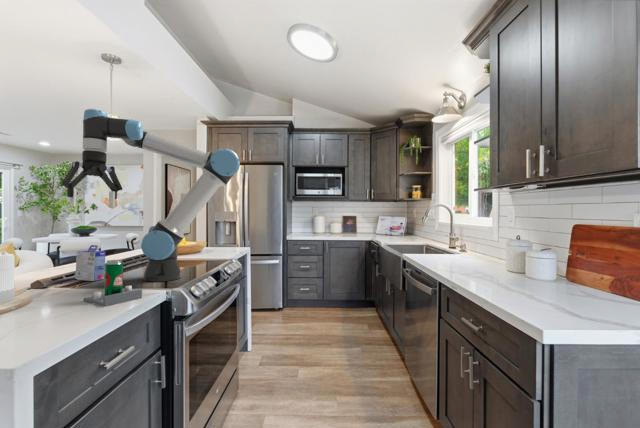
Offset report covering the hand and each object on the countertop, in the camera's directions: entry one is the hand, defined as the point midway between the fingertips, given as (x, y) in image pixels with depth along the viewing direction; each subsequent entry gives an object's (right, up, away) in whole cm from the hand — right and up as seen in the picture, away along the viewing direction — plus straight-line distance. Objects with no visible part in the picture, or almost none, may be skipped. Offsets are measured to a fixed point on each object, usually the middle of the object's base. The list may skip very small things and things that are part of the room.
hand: (93, 207), depth 122 cm
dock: (+17, -31, -15) cm, 39 cm away
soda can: (+17, -30, -15) cm, 38 cm away
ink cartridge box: (-11, -31, +14) cm, 36 cm away
